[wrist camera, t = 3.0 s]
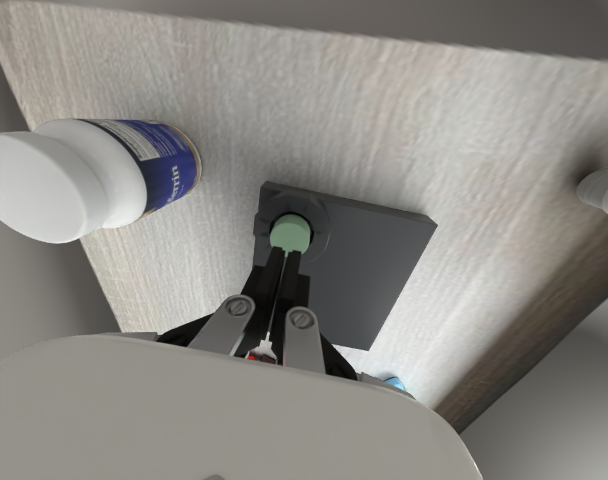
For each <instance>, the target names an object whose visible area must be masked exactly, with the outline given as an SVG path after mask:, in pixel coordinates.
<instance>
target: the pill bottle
mask: <svg viewBox="0 0 608 480" xmlns="http://www.w3.org/2000/svg"><path fill="white" fill-rule="evenodd" d="M201 172H202V165H201V160H200V156H199V154H198V151H197V149H196V148H195V146H194V144H193V143H192V142H191V140H190V139H189V138H188V137H187V136H186V135H185V134H184V133H183V132H182V131H180V130H179V129H177V128H176V127H174V126H172V125H170V124H167V123H164V122H161V121H152V120H107V119H58V120H52V121H49V122H46V123H44V124H42V125H40V126H39V127H37V128H36V129H35V130H34V131H33V132H32V133H31V132H22V131H20V132H3V133H0V220H1V221H2V222H4V223H5V224H6V225H8V226H9V227H11V228H12V229H14V230H16V231H18V232H20V233H22V234H24V235H26V236H28V237H31V238H33V239H36V240H40V241H44V242H49V243H65V242H70V241H73V240H75V239H78V238H80V237H82V236H85V235H87V234H89V233H91V232H93V231H95V230H97V229H98V228H118V227H122V226H126V225H128V224H131V223H133V222H135V221H137V220H139V219H141V218H143V217H145V216H147V215H148V214H150V213H152V212H154V211H156V210H158V209H160V208H162V207H164V206H166V205H167V204H169V203H171V202H173V201H175V200H177V199H179V198H181V197H182V196H184V195H186V194H188V193H190V192H191V191H192V190H194V189H195V188H196V186H197V185H198V183H199V181H200V178H201Z"/></svg>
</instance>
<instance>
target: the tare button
mask: <svg viewBox="0 0 608 480" xmlns="http://www.w3.org/2000/svg"><path fill="white" fill-rule="evenodd" d="M309 240H310V227H309V225H308V223H307V222H306V221H305V220H304V219H303V218H302V217H300V216H297V215H293V214H289V215H284V216H282V217H280V218H279V219H278V220H277V221H276V223H275V225H274V227H273V229H272V231H271V234H270V243H271V246H272V248H273V246H277V247H282V248H283V250H284V251H286V253H285V257H287V256H288V252H292V251H293V250H296V251H301V252H302V253H301V254H303V253H304V252H305V251H306V250H307V248H308V246H309Z"/></svg>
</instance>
